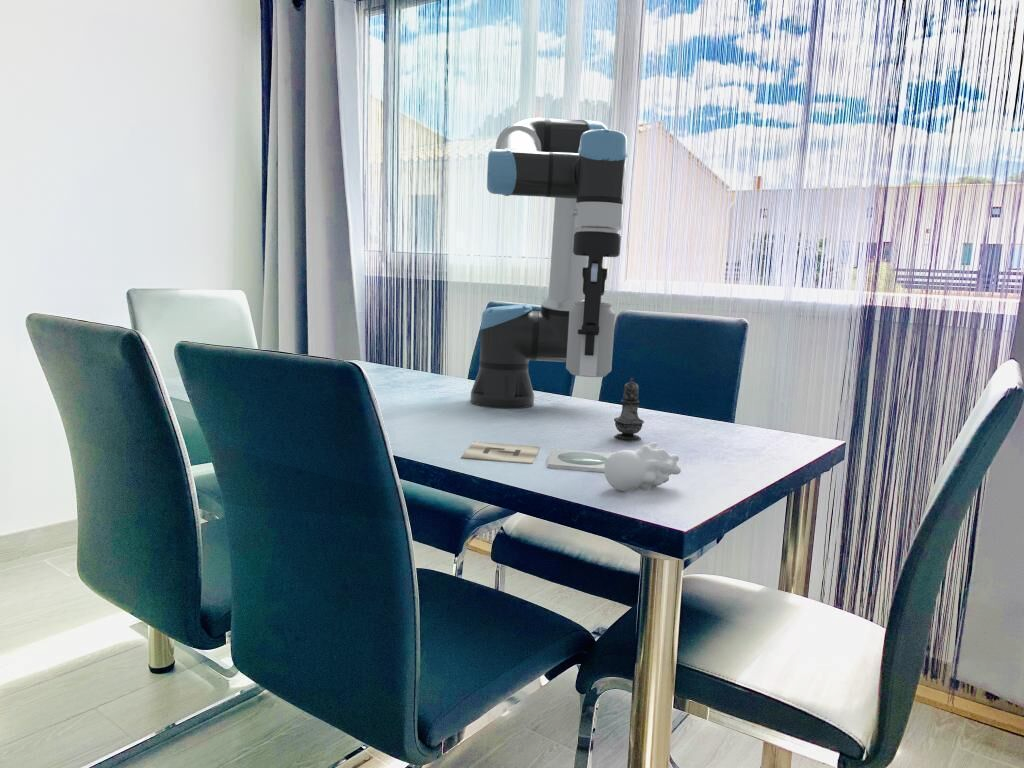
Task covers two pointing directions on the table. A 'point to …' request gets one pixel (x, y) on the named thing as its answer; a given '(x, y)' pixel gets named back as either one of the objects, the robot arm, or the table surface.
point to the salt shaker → (629, 414)
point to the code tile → (501, 452)
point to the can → (603, 345)
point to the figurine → (640, 468)
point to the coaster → (578, 460)
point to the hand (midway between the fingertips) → (588, 372)
